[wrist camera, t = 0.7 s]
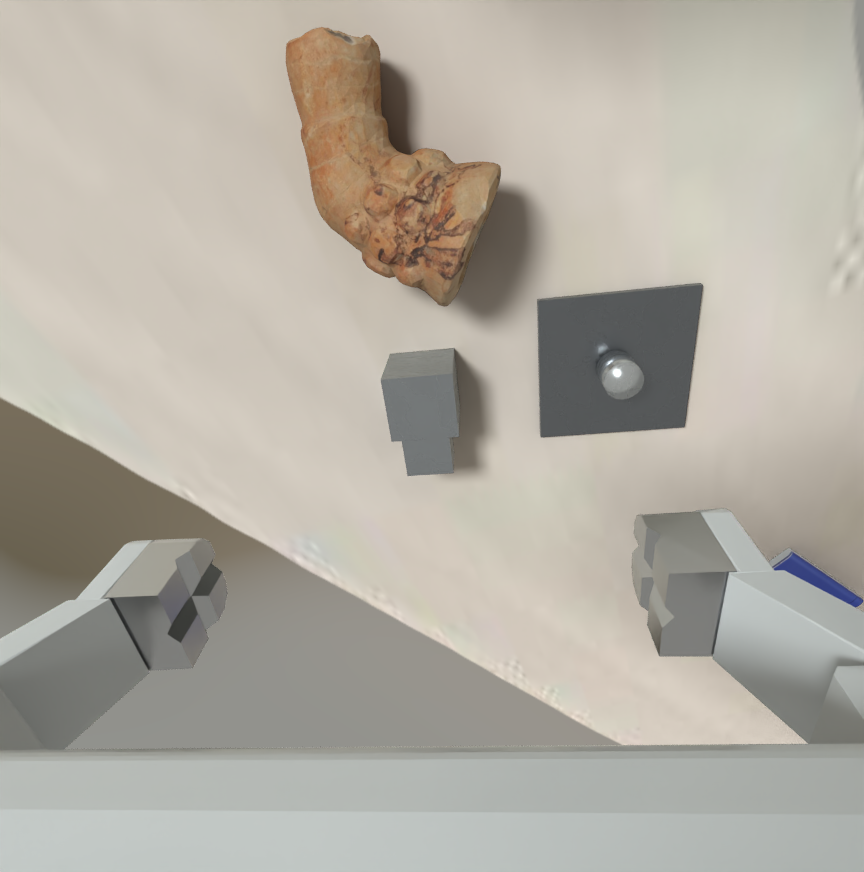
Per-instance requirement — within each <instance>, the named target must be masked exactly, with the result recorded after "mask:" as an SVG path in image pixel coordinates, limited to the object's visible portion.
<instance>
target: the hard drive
mask: <svg viewBox="0 0 864 872" xmlns="http://www.w3.org/2000/svg"><path fill="white" fill-rule="evenodd" d="M769 564H770V565H771V566H772V568H773V569H774V570H775V571H777V570H785V571H787V572H788V573H790V574H792V575H794V576H796V577H798V578H800V579H802V580H804V581H806V582H808V583H809V584H811V585H813V586H815V587H817V588H819V589H821V590H823V591H825V592H827V593H829V594H830V595H832V596H834V597H836V598H838V599H840V600H842V601H844V602H846V603H848V604H850V605H852V606H853V607H855V608H856V607H857V606H859V605H860V604H862V602H863V600H862V598H861V597H860V596H859V595H858V594H856V593H855V592H853V591H852V590H850V589H849V588H847V587H846V586H845V585H843V584H842V583H840V582H839V581H837V580H836V579H834V578H833V577H831V576H830V575H828V574H827V573H825V572H824V571H822V570H821V569H820V568H818V567H817V566H815V565H814V564H812V563H811V562H809V561H808V560H806V559H805V558H803V557H802V556H800V555H799V554H797V553H796V552H794V551H793V550H792V549H790V548H787V549H786V550H784V551H783V552H782V553H780V554H779V555H778V556H776V557H775V558H773V559H772V560H771V561H769Z"/></svg>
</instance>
